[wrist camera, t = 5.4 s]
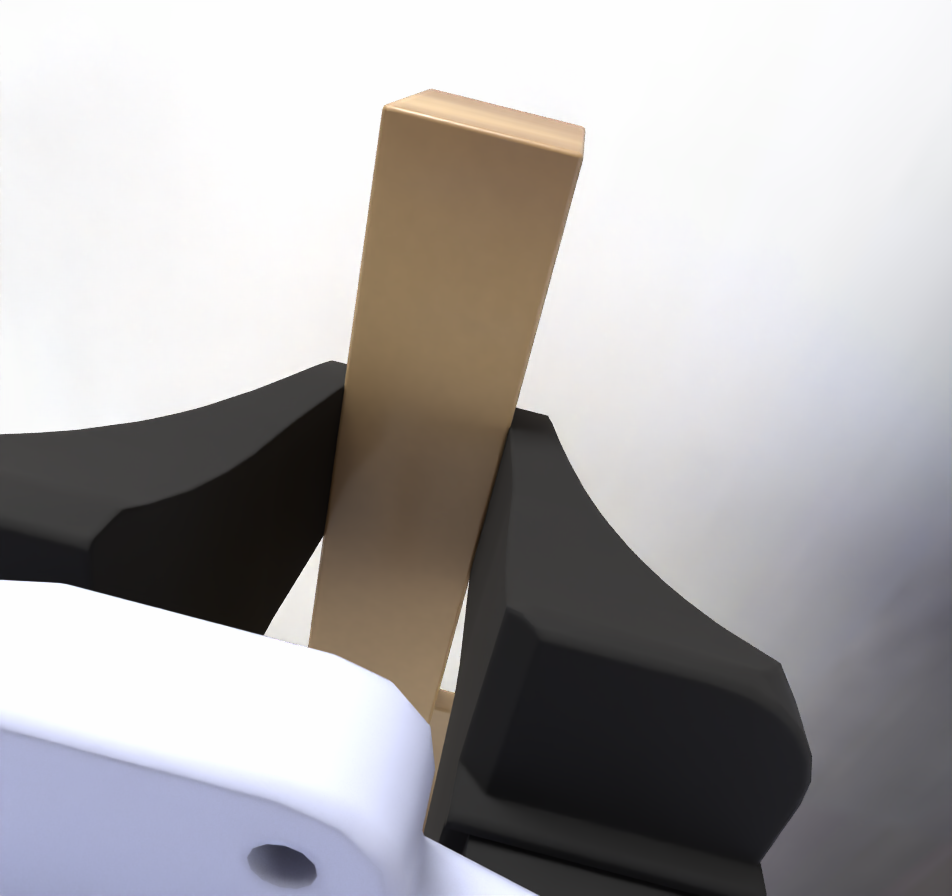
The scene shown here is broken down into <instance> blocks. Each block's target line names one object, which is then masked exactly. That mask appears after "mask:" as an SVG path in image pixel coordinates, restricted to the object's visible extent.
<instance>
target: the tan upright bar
mask: <svg viewBox="0 0 952 896" xmlns="http://www.w3.org/2000/svg"><path fill="white" fill-rule="evenodd" d="M584 142H585V128H584V127H582V126H579V125H575V124H571V123H567V122H563V121H559V120H555V119H551V118H547V117H543V116H539V115H535V114H531V113H527V112H523V111H519V110H515V109H511V108H507V107H503V106H499V105H495V104H491V103H487V102H483V101H479V100H475V99H471V98H467V97H463V96H459V95H455V94H451V93H447V92H443V91H439V90H435V89H428V90H426V91H423V92H420V93H417V94H414V95H412V96H409V97H406V98H403V99H400V100H397V101H395V102H392V103H389V104H386V105H384V107H383V109H382V116H381V123H380V130H379V138H378V145H377V152H376V159H375V167H374V174H373V181H372V188H371V196H370V203H369V210H368V217H367V225H366V232H365V239H364V246H363V253H362V261H361V268H360V275H359V282H358V290H357V297H356V304H355V311H354V319H353V326H352V333H351V340H350V347H349V355H348V362H347V369H346V376H345V384H344V385H345V387H344V394H343V401H342V408H341V416H340V423H339V430H338V437H337V444H336V452H335V459H334V466H333V473H332V480H331V488H330V495H329V502H328V509H327V517H326V524H325V531H324V536H323V543H322V550H321V557H320V564H319V572H318V579H317V586H316V593H315V601H314V608H313V615H312V622H311V630H310V637H309V644H308V648H312V649H316V650H320V651H324V652H328V653H331V654H335V655H337V656H340V657H342V658H344V659H346V660H348V661H350V662H352V663H354V664H356V665H359V666H361V667H363V668H365V669H367V670H369V671H371V672H373V673H376V674H378V675H380V676H382V677H384V678H386V679H388V680H390V681H391V682H392V683H394V685H395V686H396V687H397V688H398V689H399V690H400V691H401V693H402V694H403V695H404V696H405V697H406V698H407V700H408V701H409V702H410V703H411V704H412V705H413V707H414V708H415V709H416V710H417V711H418V712H419V713H420V715H421V716H422V717H423V718H424V719H425V720H426V722H427V723H428V724H429V725H430V727H431V736H432V745H433V754H434V763H435V773H434V778H433V782H432V787H431V792H430V796H429V801H428V805H427V810H426V815H425V819H424V824H423V829H422V831H423V833H424V829H425V825H426V820H427V816H428V811H429V807H430V803H431V798H432V794H433V789H434V785H435V781H436V776H437V772H438V767H439V763H440V758H441V754H442V749H443V745H444V741H445V736H446V732H447V727H448V723H449V718H450V714H451V709H452V705H453V700H454V696H455V693H453V692H449V691H446V690H442V689H440V685H441V682H442V678H443V674H444V671H445V667H446V663H447V659H448V656H449V652H450V648H451V645H452V641H453V637H454V634H455V630H456V626H457V623H458V619H459V615H460V611H461V608H462V604H463V600H464V597H465V593H466V589H467V586H468V582H469V578H470V572H471V568H472V565H473V561H474V557H475V553H476V550H477V546H478V542H479V539H480V535H481V531H482V528H483V524H484V520H485V517H486V513H487V509H488V505H489V502H490V498H491V494H492V491H493V487H494V483H495V480H496V476H497V472H498V469H499V465H500V461H501V458H502V454H503V450H504V446H505V443H506V439H507V435H508V432H509V428H510V427H511V423H512V420H513V416H514V412H515V408H516V405H517V401H518V397H519V394H520V390H521V386H522V383H523V379H524V375H525V372H526V368H527V364H528V361H529V357H530V353H531V349H532V346H533V342H534V338H535V335H536V331H537V327H538V324H539V320H540V316H541V313H542V309H543V305H544V301H545V298H546V294H547V290H548V287H549V283H550V279H551V276H552V272H553V268H554V265H555V261H556V257H557V253H558V250H559V246H560V242H561V239H562V235H563V231H564V228H565V224H566V220H567V217H568V213H569V209H570V206H571V202H572V198H573V194H574V191H575V187H576V183H577V180H578V176H579V172H580V169H581V165H582V161H583V154H584Z"/></svg>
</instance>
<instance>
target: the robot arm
mask: <svg viewBox="0 0 952 896" xmlns="http://www.w3.org/2000/svg"><path fill="white" fill-rule="evenodd" d="M346 369H347V364H344V363H340V362H336V361H329V362H325V363H322V364H319V365H317V366H314V367H311V368H309V369H306V370H304V371H301V372H299V373H296V374H294V375H292V376H289V377H287V378H284V379H281V380H279V381H276V382H274V383H271V384H269V385H266V386H264V387H261V388H258V389H256V390H253V391H250V392H247V393H244V394H241V395H238V396H235V397H232V398H229V399H226V400H223V401H220V402H217V403H214V404H211V405H208V406H204V407H201V408H197V409H193V410H189V411H186V412H182V413H177V414H173V415H168V416H164V417H159V418H154V419H150V420H144V421H139V422H132V423H125V424H117V425H110V426H103V427H95V428H88V429H81V430H70V431H57V432H43V433H22V434H0V896H766V889H765V884H764V879H763V874H762V869H761V864H760V862H761V860H762V859H763V857H764V856H765V854H766V853H767V852H768V850H769V849H770V847H771V846H772V844H773V843H774V841H775V840H776V839H777V837H778V836H779V834H780V833H781V831H782V830H783V829H784V827H785V826H786V824H787V823H788V821H789V820H790V819H791V817H792V816H793V814H794V813H795V811H796V810H797V809H798V807H799V806H800V804H801V802H802V800H803V798H804V795H805V793H806V791H807V789H808V787H809V785H810V783H811V768H812V755H811V751H810V748H809V745H808V741H807V738H806V735H805V731H804V728H803V724H802V720H801V717H800V714H799V711H798V707H797V704H796V701H795V698H794V696H793V693H792V691H791V688H790V686H789V683H788V681H787V678H786V676H785V673H784V671H783V668H782V666H781V663H779V662H777V661H776V660H774V659H773V658H771V657H769V656H768V655H766V654H765V653H763V652H761V651H760V650H758V649H757V648H755V647H753V646H752V645H750V644H749V643H747V642H745V641H744V640H742V639H741V638H739V637H737V636H736V635H734V634H733V633H731V632H730V631H728V630H726V629H725V628H723V627H722V626H720V625H719V624H717V623H716V622H715V621H713V620H712V619H711V618H709V617H708V616H707V615H705V614H704V613H703V612H701V611H700V610H699V609H697V608H696V607H695V606H693V605H692V604H691V603H689V602H688V601H687V600H685V599H684V598H683V597H682V596H681V595H679V594H678V593H677V592H676V591H675V590H673V589H672V588H671V587H670V586H668V585H667V584H666V583H665V582H664V581H663V580H662V579H661V578H660V577H659V576H658V575H657V574H655V573H654V572H653V571H652V570H651V569H650V568H649V567H648V566H647V565H646V564H645V563H644V562H643V561H642V560H641V559H640V558H639V557H638V556H637V555H636V554H635V553H634V552H633V551H632V550H631V549H630V548H629V547H628V546H627V545H626V543H625V542H624V541H623V540H622V539H621V538H620V536H619V535H618V534H617V533H616V532H615V531H614V529H613V528H612V527H611V526H610V525H609V523H608V522H607V521H606V520H605V518H604V517H603V516H602V514H601V513H600V512H599V510H598V509H597V507H596V506H595V504H594V503H593V501H592V500H591V498H590V497H589V495H588V494H587V492H586V491H585V489H584V488H583V486H582V484H581V482H580V480H579V479H578V477H577V475H576V473H575V471H574V470H573V468H572V466H571V464H570V462H569V460H568V458H567V456H566V454H565V452H564V450H563V448H562V445H561V443H560V441H559V439H558V436H557V434H556V432H555V429H554V427H553V424H552V422H551V421H550V419H549V417H548V416H546V415H542V414H538V413H535V412H531V411H527V410H523V409H519V408H515V412H514V416H513V420H512V423H511V427H510V428H509V432H508V435H507V439H506V443H505V446H504V450H503V454H502V458H501V461H500V465H499V469H498V472H497V476H496V480H495V483H494V487H493V491H492V494H491V498H490V502H489V505H488V509H487V513H486V517H485V520H484V524H483V528H482V531H481V535H480V539H479V542H478V546H477V550H476V553H475V557H474V561H473V565H472V568H471V572H470V579H469V588H468V597H467V605H466V614H465V623H464V632H463V641H462V649H461V658H460V667H459V673H458V679H457V685H456V691H455V696H454V700H453V705H452V709H451V714H450V718H449V723H448V727H447V732H446V736H445V741H444V745H443V749H442V754H441V758H440V763H439V767H438V772H437V776H436V781H435V785H434V789H433V794H432V798H431V803H430V807H429V811H428V816H427V820H426V825H425V829H424V833H423V831H422V829H423V824H424V819H425V815H426V810H427V805H428V801H429V796H430V792H431V787H432V782H433V778H434V773H435V763H434V754H433V745H432V736H431V727H430V725H429V724H428V723H427V722H426V720H425V719H424V718H423V717H422V716H421V715H420V713H419V712H418V711H417V710H416V709H415V708H414V707H413V705H412V704H411V703H410V702H409V701H408V700H407V698H406V697H405V696H404V695H403V694H402V693H401V691H400V690H399V689H398V688H397V687H396V686H395V685H394V683H392V682H391V681H390V680H388V679H386V678H384V677H382V676H380V675H378V674H376V673H373V672H371V671H369V670H367V669H365V668H363V667H361V666H359V665H356V664H354V663H352V662H350V661H348V660H346V659H344V658H342V657H340V656H337V655H335V654H331V653H328V652H324V651H320V650H316V649H312V648H308V647H305V646H301V645H297V644H293V643H289V642H286V641H282V640H278V639H274V638H270V637H267V636H263V635H264V634H265V632H266V630H267V628H268V626H269V625H270V623H271V621H272V619H273V617H274V616H275V614H276V612H277V611H278V609H279V607H280V606H281V604H282V603H283V601H284V599H285V598H286V596H287V594H288V593H289V591H290V590H291V588H292V586H293V585H294V583H295V581H296V580H297V578H298V577H299V575H300V573H301V572H302V570H303V568H304V567H305V565H306V564H307V562H308V560H309V559H310V557H311V555H312V554H313V552H314V550H315V549H316V547H317V546H318V544H319V542H320V541H321V539H322V537H323V536H324V531H325V524H326V517H327V509H328V502H329V495H330V488H331V480H332V473H333V466H334V459H335V452H336V444H337V437H338V430H339V423H340V416H341V408H342V401H343V394H344V387H345V385H344V384H345V376H346Z"/></svg>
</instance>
